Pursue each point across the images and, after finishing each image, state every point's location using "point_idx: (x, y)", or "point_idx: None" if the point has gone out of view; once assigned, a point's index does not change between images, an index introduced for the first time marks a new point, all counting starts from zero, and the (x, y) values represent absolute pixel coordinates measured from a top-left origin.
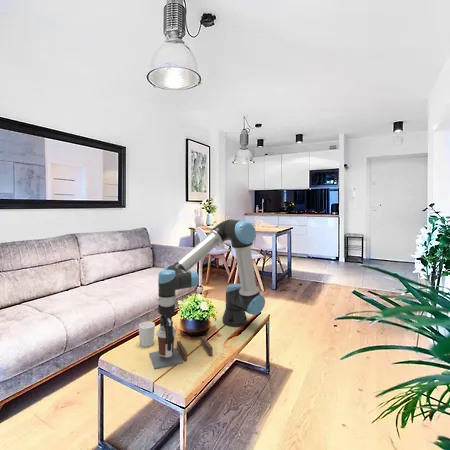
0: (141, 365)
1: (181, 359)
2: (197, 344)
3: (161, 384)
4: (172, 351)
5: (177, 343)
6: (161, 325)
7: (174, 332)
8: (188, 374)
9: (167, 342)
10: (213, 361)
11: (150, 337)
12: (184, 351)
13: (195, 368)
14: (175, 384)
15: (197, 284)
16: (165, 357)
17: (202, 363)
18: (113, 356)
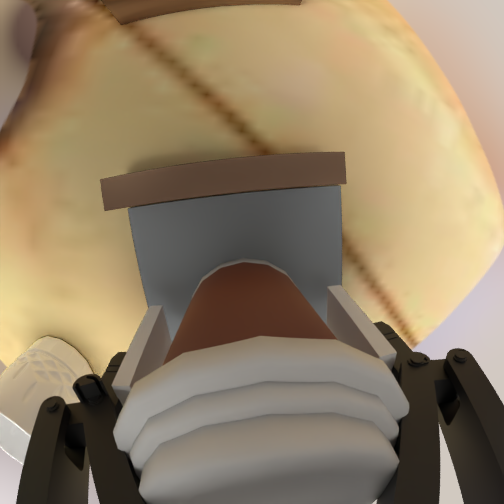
0: None
1: (306, 192)
2: (113, 45)
3: (443, 320)
4: (281, 275)
5: (128, 206)
6: (83, 477)
7: (350, 386)
8: (440, 187)
9: (447, 405)
10: (361, 10)
11: (66, 393)
12: (318, 169)
13: (407, 129)
14: (468, 264)
15: None
16: None
17: (370, 70)
18: None
